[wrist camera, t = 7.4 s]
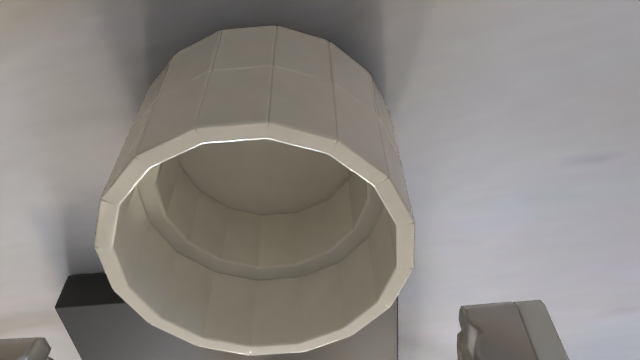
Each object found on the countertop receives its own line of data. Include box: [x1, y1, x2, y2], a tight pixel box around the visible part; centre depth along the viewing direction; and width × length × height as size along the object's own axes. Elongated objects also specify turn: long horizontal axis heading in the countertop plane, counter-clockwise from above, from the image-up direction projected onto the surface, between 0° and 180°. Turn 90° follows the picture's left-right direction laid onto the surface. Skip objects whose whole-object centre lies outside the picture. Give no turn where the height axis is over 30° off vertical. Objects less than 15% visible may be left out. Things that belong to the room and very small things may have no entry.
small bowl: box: [94, 25, 415, 356], centre depth 15 cm, size 7×7×5 cm
